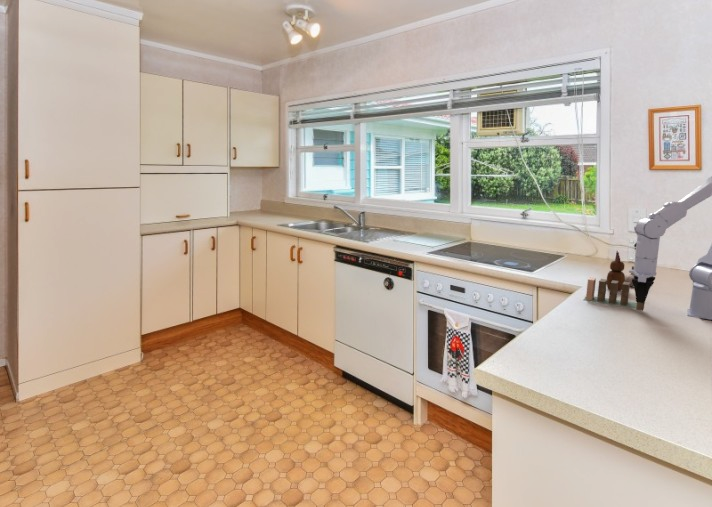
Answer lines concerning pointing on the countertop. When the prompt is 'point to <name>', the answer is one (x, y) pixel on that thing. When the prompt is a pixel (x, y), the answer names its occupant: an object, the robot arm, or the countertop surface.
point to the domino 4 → (640, 306)
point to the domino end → (590, 288)
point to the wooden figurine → (616, 272)
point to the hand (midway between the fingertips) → (641, 300)
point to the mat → (617, 303)
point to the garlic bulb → (630, 277)
